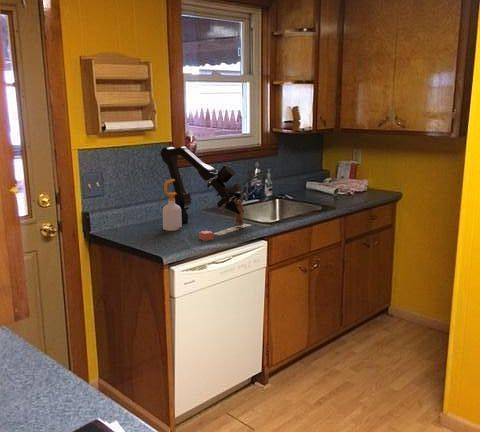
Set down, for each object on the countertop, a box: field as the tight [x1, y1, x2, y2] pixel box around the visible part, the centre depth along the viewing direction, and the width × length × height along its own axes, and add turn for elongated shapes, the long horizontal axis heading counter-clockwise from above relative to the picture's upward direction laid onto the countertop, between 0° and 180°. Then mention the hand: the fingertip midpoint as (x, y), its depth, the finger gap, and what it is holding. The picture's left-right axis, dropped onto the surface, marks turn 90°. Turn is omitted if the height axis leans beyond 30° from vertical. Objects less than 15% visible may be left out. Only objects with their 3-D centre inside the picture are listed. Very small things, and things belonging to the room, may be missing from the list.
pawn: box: [233, 199, 244, 226], centre depth 253 cm, size 4×4×12 cm
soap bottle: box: [162, 178, 183, 232], centre depth 254 cm, size 9×9×25 cm
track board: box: [213, 223, 251, 236], centre depth 251 cm, size 26×11×1 cm, turn 143°
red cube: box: [198, 230, 214, 242], centre depth 233 cm, size 4×4×4 cm
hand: (241, 213), depth 253 cm, fingers closed on pawn, 3 cm apart
